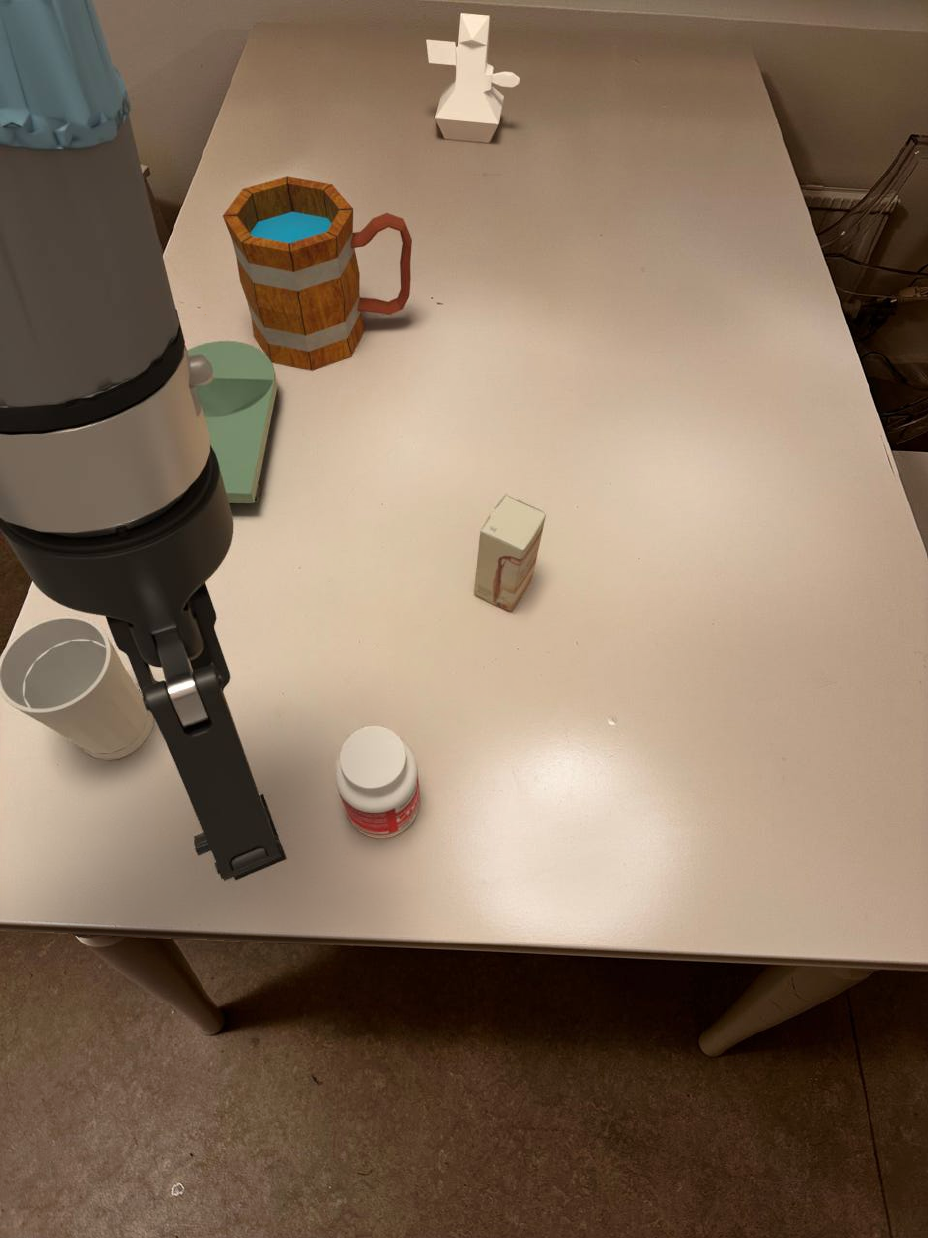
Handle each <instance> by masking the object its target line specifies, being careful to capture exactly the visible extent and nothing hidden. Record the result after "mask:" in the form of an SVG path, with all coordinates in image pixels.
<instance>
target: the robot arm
mask: <svg viewBox="0 0 928 1238" xmlns="http://www.w3.org/2000/svg"><path fill="white" fill-rule="evenodd" d="M97 11H98V10H97V8H96V4H95V2H94V0H0V531H1V533H2V534H3V536H4V538H5V539H6V541H7V542H8V544H9V546H10V548H11V549H12V550H13V552H14V554H15V555H16V557H17V559H18V560H19V562H20V564H21V566H22V567H23V569H24V571H25V572H26V573H27V575H28V577H29V578H30V580H31V582H32V583H33V585H35V587H36V588H37V589H38V590H39V591H40V592H41V593H42V594H44V595H45V596H46V597H47V598H49V599H50V600H51V601H53V602H55V603H57V604H59V605H60V606H62V607H65V608H68V609H70V610H73V611H76V612H81V613H85V614H90V615H97V616H102V617H105V619H106V622H107V624H108V628H109V630H110V633H111V635H112V638H113V640H114V643H115V645H116V647H117V649H118V650H119V651H121V652H122V653H124V654H126V656H127V658H128V660H129V663H130V665H131V668H132V671H133V673H134V677H135V678H136V681H137V684H138V686H139V689H140V693H141V694H142V695H143V697H144V698H143V701H144V704H145V707H146V709H147V711H149V710H150V712H151V713H152V715H153V717H154V722H155V723H156V725H157V727H158V729H159V731H160V734H161V735H162V737H163V739H164V741H165V743H166V746H167V748H168V751H169V752H170V755H171V757H172V759H173V762H174V765H175V767H176V770H177V772H178V775H179V777H180V779H181V782H182V785H183V786H184V789H185V791H186V794H187V796H188V798H189V801H190V804H191V806H192V808H193V810H194V811H193V812H194V813H195V815H196V818H197V820H198V822H199V825H200V827H201V830H202V832H201V833H199V834H196V835H194V836H193V843H194V850H195V852H196V854H197V856H202V855H205V854H206V853H209V852H211V855H212V856H213V858H214V863H213V864H214V868H215V870H216V873H217V875H220V879H221V880H223V881H224V882H226V881H229V880H231V879H234V881H235V882H236V881H238V880H241V879H243V878H246V877H248V876H250V875H253V874H255V873H257V872H259V871H262V870H265V869H266V868H269V867H271V866H273V865H276V864H278V863H281V862H283V861H286V860H287V857H286V854H285V850H284V847H283V844H282V842H281V839H280V836H279V834H278V833H279V832H278V831H277V827H276V825H275V823H274V820H273V817H272V815H271V812H270V809H269V806H268V803H267V800H266V798H265V795H264V793H261V794H260V792H259V789H258V786H257V783H256V780H255V777H254V775H253V773H252V769H251V766H250V764H249V760H248V757H247V755H246V752H245V749H244V746H243V744H242V740H241V737H240V734H239V733H238V729H237V727H236V723H235V721H234V718H233V715H232V713H231V710H230V709H231V708H230V706H229V704H228V701H227V698H226V695H225V693H224V690H225V688H226V687H227V686H228V684H229V683H230V679H231V672H230V670H229V667H228V664H227V661H226V658H225V656H224V652H223V649H222V646H221V644H220V641H219V638H218V635H217V632H216V629H215V625H216V621H217V619H218V618H217V613H216V610H215V607H214V604H213V601H212V599H211V595H210V592H209V590H208V586H207V584H206V582H207V581H208V580H209V579H210V578H211V577H212V576H213V575H214V574H215V573H216V572H217V571H218V569H219V568H220V566H221V565H222V563H223V562H224V561H225V558H226V557H227V555H228V554H229V550H230V548H231V546H232V542H233V537H234V517H233V512H232V509H231V506H230V503H229V501H228V498H227V494H226V490H225V486H224V482H223V479H222V475H221V471H220V467H219V463H218V460H217V457H216V454H215V452H214V450H213V448H212V447H211V445H210V436H209V432H208V428H207V424H206V420H205V416H204V412H203V408H202V405H201V401H200V399H199V396H198V394H197V392H196V390H195V389H194V387H198V386H202V385H206V384H208V383H210V382H212V379H213V375H214V374H213V370H212V366H211V363H210V362H209V361H208V360H207V359H206V357H205V356H204V355H203V354H201V355H194V356H189V357H188V353H187V351H188V349H187V346H186V340H185V336H184V333H183V329H182V325H181V321H180V317H179V314H178V310H177V309H176V305H175V301H174V297H173V292H172V288H171V284H170V281H169V276H168V272H167V268H166V264H165V259H164V255H163V252H162V247H161V243H160V239H159V234H158V231H157V227H156V223H155V218H154V215H153V210H152V206H151V202H150V198H149V193H148V190H147V185H146V182H145V177H144V174H143V173H144V172H143V169H142V164H141V159H140V156H139V151H138V146H137V142H136V139H135V138H136V137H135V134H134V131H133V125H132V122H131V117H130V112H131V110H132V107H131V100H130V97H129V94H128V90H127V87H126V86H127V85H126V83H125V81H124V80H123V79H122V77H121V73H120V72H119V69H118V68H117V67H116V66H115V65H114V63H113V59H112V56H111V52H110V50H109V46H108V42H107V40H106V37H105V34H104V29H103V27H102V24H101V21H100V18H99V15H98V12H97ZM150 666H151V667H154V668H160V669H162V672H163V676H164V680H160V681H158V680H156V679H155V678H154V675H153V673H152V670H151V667H150Z"/></svg>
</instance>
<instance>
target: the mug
mask: <svg viewBox="0 0 928 1238" xmlns="http://www.w3.org/2000/svg"><path fill="white" fill-rule="evenodd" d="M222 219H223V220H224V222H225V225H226V228H227V231H228V233H229V235H230V238H231V241H232V246H233V249H234V250H233V251H234V253H235V258H236V265H237V272H238V276H239V277H238V278H239V282H240V285H241V288H242V290H243V294H244V295H245V300H246V302H247V306H248V309H249V313H250V317H251V322H252V323H251V324H252V332H253V333H252V334H253V337H254V339H255V341H256V342H257V343H258V345H259V347H260V348H261V349H262V350H261V351H262V352H263V353H264V354H265V355H266V356H268V358H269V359H270V360H271V362H272V364H273V363H274V364H279V365H284V366H289V367H292V368H298V369H302V370H307V371H315V370H317V369H321V368H323V367H326V366H329V365H332V364H335V363H337V362H340V361H343V360H345V359H348V358H351V357H352V356H353V355H354V353H355V350H356V349H357V346H358V345H359V343H360V340H361V338H362V336H363V334H364V333H365V331H366V326H365V321H364V317H363V313H372V314H373V313H374V314H382V315H387V316H391V315H393V314H396V313H398V312H400V311H402V310H404V307H405V306H406V304H407V302H408V300H409V298H410V294H411V279H412V277H411V276H412V275H411V259H412V258H411V257H412V245H413V239H412V236H411V234H410V231H409V229H408V226H407V224H406V222H405V220H404V218H403V217H401V216H398V215H394V214H392V213H390V212H389V213H388V212H384V213H383V214H380V215H377V216H375V217H373V218H372V219H371V220H370V221H369V222H368V223H367V224H366V225H365V226H364V228H362V229H361V230H360V231H355V232H354V207H352V206H351V204H350V203H349V202H348V201H347V200H346V199H345V197H344V196H343V195H342V194H341V193H340V191H339V190H338V189H337V188H336V186H334V185H333V184H332V183H328V182H327V183H326V182H322V181H315V180H310V179H304V178H300V177H299V178H298V177H293V176H288V175H287V176H283V177H279V178H277V179H273V180H269V181H266V182H262V183H258V184H255V185H251V186H248V187H244V188H242V189H241V191H240V192H239V193H238V194H237V196H236V197H235V198H234V200H233V201H232V202H231V204H230V205H229V206H228V208H227V209H226V211H225V212H224V213H223V215H222ZM388 228H390V229H392V230H395V231H398V232H399V234H400V238H401V243H402V244H401V253H400V261H399V272H400V289H399V292H398V295H397V297H396V298H393V299H391V300H389V301H388V300H387V301H386V300H382V299H379V298H373V297H372V298H371V297H361V296H360V278H361V277H360V274H361V273H360V267H359V264H358V258H357V255H356V249H357V248H364V247H365V246H367V245H368V244H370V243H371V241H373V239H374V238H375V237H376V236H377V235H378V233H380V232H382V231H384V230H386V229H388ZM362 312H363V313H362Z"/></svg>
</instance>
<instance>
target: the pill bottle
mask: <svg viewBox="0 0 928 1238" xmlns="http://www.w3.org/2000/svg"><path fill="white" fill-rule="evenodd" d="M416 758H417V757H416V754H415V753H414V751H413V750H412V748H411V746H410V745H409V744H408V743H407V742H406V741H405V740H404V739H403V738H401V737H400V736H399V735H398V734H397V733H396V732H395V731H394V730H391V729H390V728H387V727H385V726H381V725H368V726H363V727H361V728H359V729H357V730H355V731H353V732H352V733H351V734H350V735H348V737H347V738H346V739H345V741H344V742H343V744H342V746H341V748H340V752H339V754H338V757H337V758H336V761H335V766H334V781H335V786H336V789H337V792H338V795H339V797H340V800H341V803H342V805H343V809H344V810H345V813H346V815H347V818H348V820H349V821H350V823H351V825H353V827H354V828H355V829H356V830H357V831H358V832H360V833H361V834H363V835H365V836H367V837H370V838H374V839H375V838H376V839H386V838H387V839H388V838H392V837H396V836H397V835H399V834H401V833H402V832H404V831H405V830H407V828H409V827H410V826H411V824H412V823H414V821H415V819H416V817H417V814H418V811H419V808H420V803H421V801H420V800H421V795H420V781H419V770H418V768H419V767H418V761H417V759H416Z"/></svg>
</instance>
